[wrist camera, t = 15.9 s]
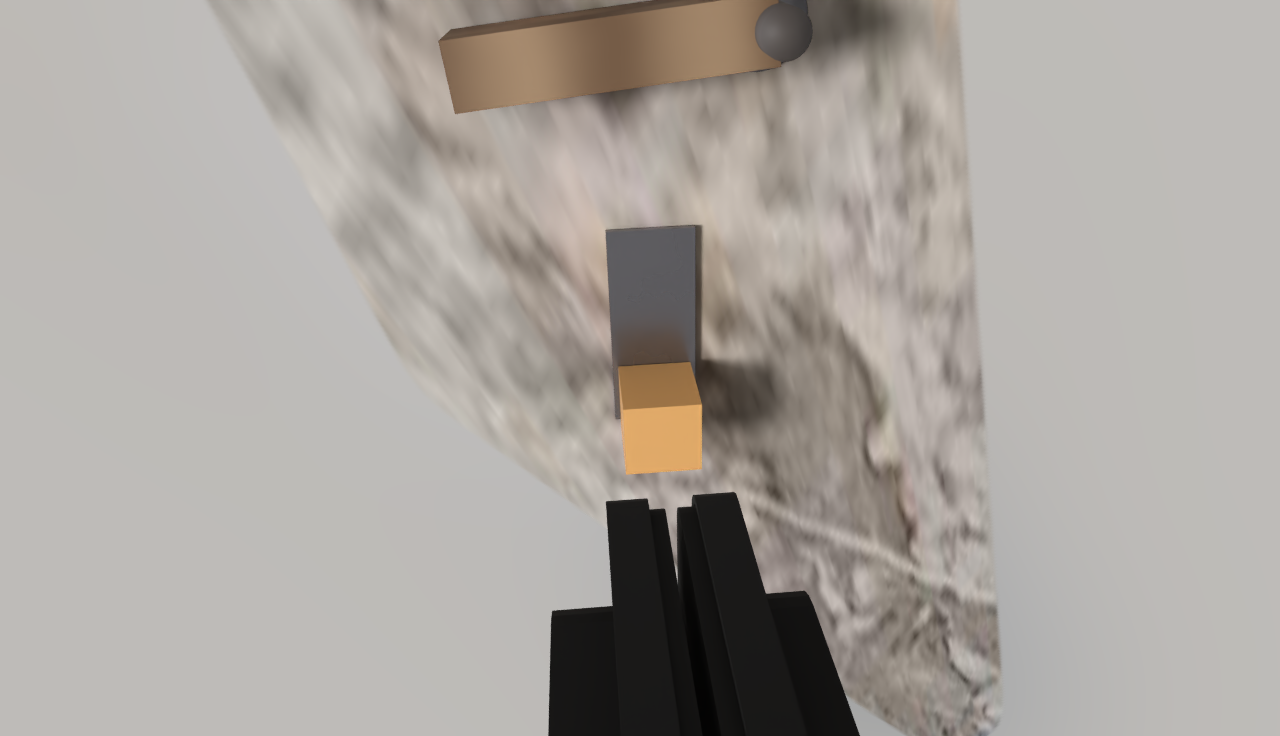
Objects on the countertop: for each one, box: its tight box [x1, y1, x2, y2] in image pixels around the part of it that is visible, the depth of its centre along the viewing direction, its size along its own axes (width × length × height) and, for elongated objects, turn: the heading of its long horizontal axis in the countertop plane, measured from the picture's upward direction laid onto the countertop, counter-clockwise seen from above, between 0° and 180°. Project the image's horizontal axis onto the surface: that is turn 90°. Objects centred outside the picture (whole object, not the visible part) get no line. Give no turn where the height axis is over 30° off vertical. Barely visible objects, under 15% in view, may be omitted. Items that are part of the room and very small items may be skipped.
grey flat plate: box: [606, 225, 695, 419], centre depth 39 cm, size 10×4×1 cm, turn 2°
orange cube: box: [618, 362, 702, 474], centre depth 39 cm, size 4×4×4 cm
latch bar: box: [438, 0, 813, 114], centre depth 30 cm, size 13×2×5 cm, turn 97°
